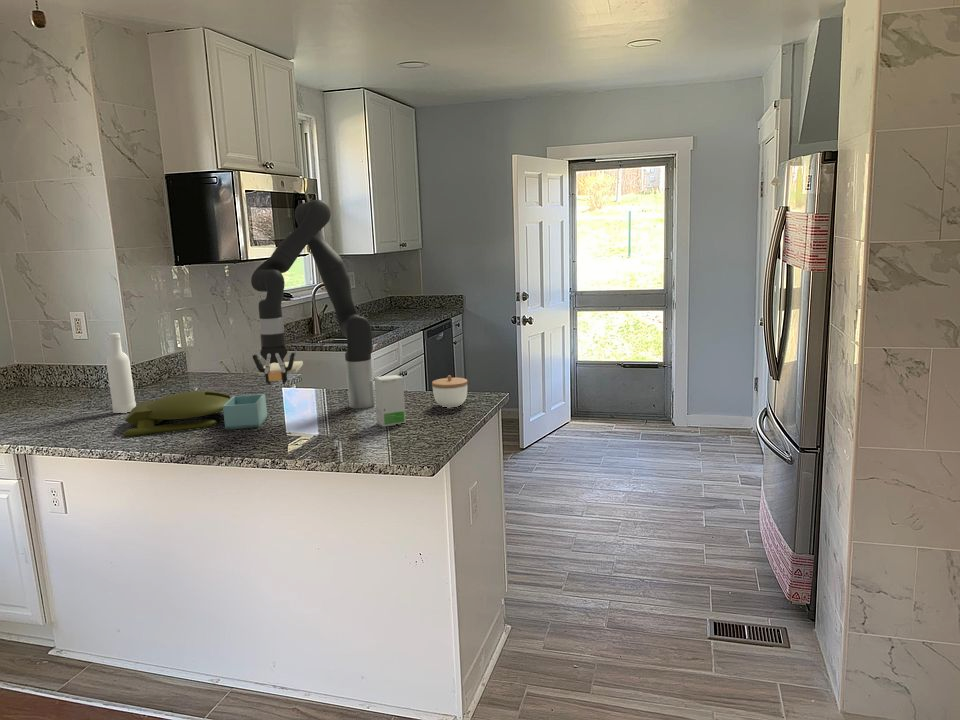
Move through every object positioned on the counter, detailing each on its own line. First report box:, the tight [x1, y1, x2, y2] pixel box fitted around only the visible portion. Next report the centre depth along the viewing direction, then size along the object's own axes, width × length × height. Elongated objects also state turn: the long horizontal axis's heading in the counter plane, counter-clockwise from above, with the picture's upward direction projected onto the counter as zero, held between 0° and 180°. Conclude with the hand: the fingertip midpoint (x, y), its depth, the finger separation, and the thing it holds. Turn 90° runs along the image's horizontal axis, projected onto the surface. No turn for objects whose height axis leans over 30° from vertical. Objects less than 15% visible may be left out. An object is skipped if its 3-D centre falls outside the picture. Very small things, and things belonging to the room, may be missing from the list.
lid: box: [258, 360, 304, 382], centre depth 241 cm, size 12×22×2 cm, turn 6°
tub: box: [223, 393, 268, 430], centre depth 245 cm, size 11×15×8 cm
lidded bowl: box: [431, 374, 469, 409], centre depth 254 cm, size 13×13×11 cm
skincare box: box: [373, 374, 407, 427], centre depth 234 cm, size 8×7×16 cm
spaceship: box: [123, 390, 232, 438], centre depth 252 cm, size 35×31×10 cm
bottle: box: [106, 332, 137, 414], centre depth 269 cm, size 8×8×30 cm
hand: (276, 383), depth 233 cm, fingers closed on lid, 4 cm apart
